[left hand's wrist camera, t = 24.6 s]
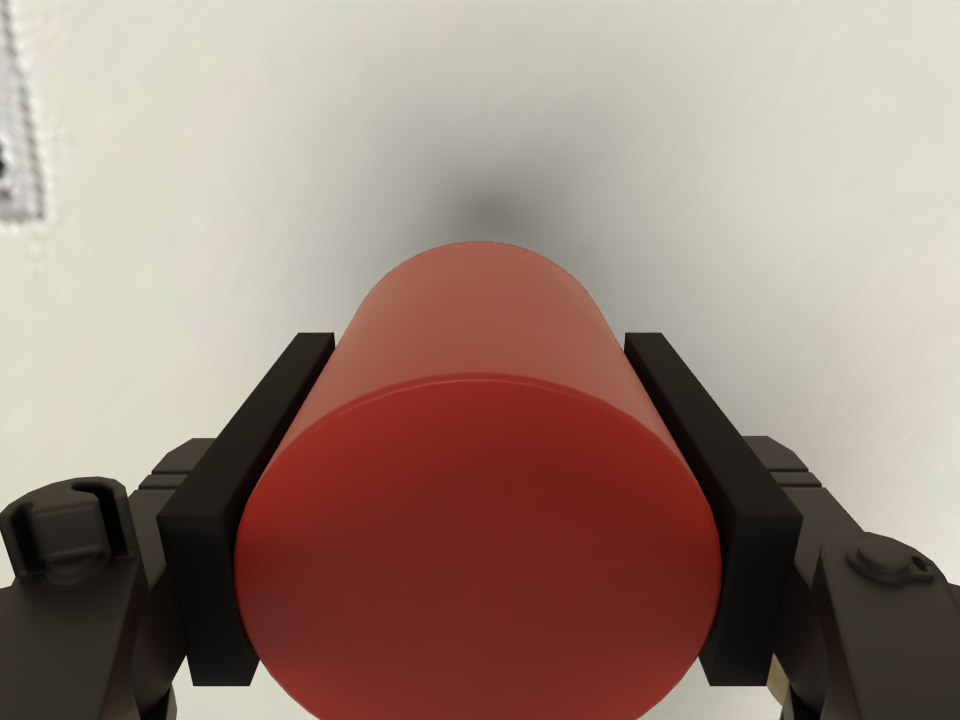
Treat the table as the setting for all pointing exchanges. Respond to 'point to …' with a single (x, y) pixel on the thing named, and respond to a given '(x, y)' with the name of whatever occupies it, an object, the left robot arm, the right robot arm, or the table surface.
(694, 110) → the table surface
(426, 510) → the can
